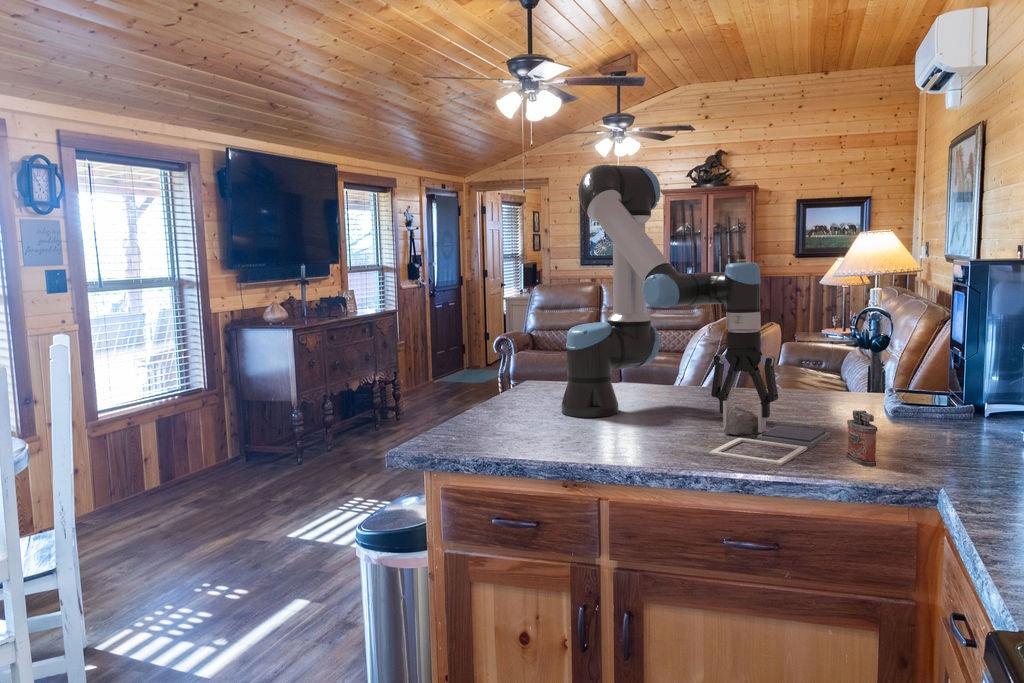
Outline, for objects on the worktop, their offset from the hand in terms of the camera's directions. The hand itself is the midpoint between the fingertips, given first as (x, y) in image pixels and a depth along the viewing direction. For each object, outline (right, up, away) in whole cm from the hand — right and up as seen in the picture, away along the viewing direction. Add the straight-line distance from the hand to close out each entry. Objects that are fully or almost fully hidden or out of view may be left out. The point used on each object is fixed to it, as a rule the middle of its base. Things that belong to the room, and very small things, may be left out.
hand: (744, 429), depth 176 cm
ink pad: (+9, -1, -7) cm, 11 cm away
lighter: (+15, -3, -26) cm, 30 cm away
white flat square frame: (-2, -3, -17) cm, 17 cm away
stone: (0, -1, 0) cm, 1 cm away
